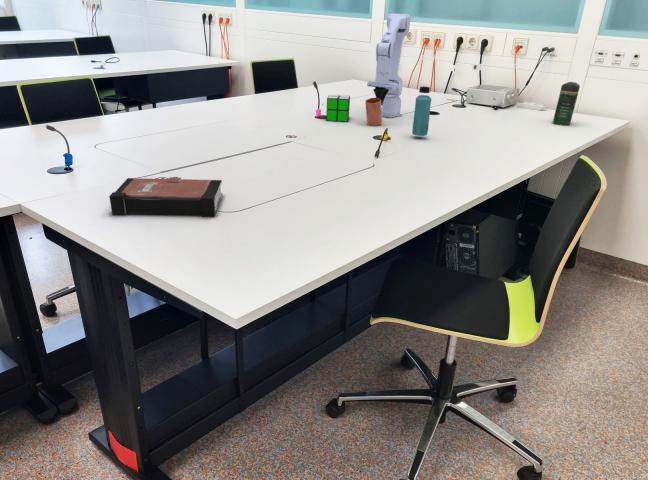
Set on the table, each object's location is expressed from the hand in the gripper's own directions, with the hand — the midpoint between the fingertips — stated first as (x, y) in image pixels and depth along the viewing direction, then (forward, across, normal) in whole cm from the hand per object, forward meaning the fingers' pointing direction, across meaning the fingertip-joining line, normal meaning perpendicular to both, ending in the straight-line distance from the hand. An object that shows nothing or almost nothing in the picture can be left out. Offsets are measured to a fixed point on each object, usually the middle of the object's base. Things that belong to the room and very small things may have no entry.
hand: (379, 105), depth 243 cm
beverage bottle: (+8, +28, -9) cm, 30 cm away
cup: (+7, 0, -3) cm, 8 cm away
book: (+8, +28, -129) cm, 132 cm away
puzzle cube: (+8, -18, -8) cm, 21 cm away
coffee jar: (+8, +56, +71) cm, 91 cm away
